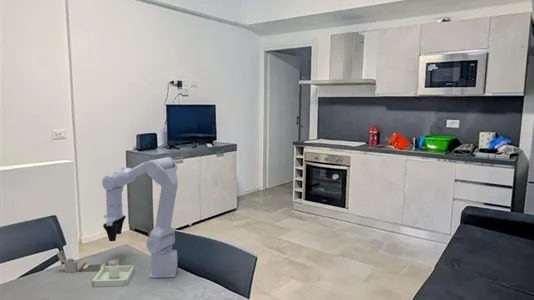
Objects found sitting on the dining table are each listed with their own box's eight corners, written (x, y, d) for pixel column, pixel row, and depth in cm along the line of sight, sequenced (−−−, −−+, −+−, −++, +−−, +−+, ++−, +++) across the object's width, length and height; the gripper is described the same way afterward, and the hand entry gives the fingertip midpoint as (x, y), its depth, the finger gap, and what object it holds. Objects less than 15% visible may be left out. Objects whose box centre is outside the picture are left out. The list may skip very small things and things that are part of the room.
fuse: (120, 275, 136) (120, 259, 135) (117, 280, 132) (116, 263, 132) (110, 275, 136) (110, 259, 135) (107, 280, 132) (106, 263, 131)
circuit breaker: (77, 271, 139) (77, 251, 138) (75, 273, 138) (74, 253, 137) (60, 270, 140) (59, 250, 139) (57, 272, 138) (56, 252, 137)
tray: (134, 271, 140) (134, 265, 140) (126, 286, 129) (126, 280, 129) (103, 272, 139) (102, 266, 139) (92, 287, 128) (91, 281, 127)
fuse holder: (109, 265, 145) (109, 262, 145) (105, 272, 139) (104, 269, 139) (84, 265, 144) (84, 262, 144) (78, 272, 138) (78, 269, 138)
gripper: (109, 199, 153) (110, 231, 155) (97, 209, 139) (98, 244, 140) (127, 199, 154) (127, 230, 156) (117, 209, 139) (118, 244, 141)
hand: (115, 237), depth 148 cm, fingers open, 7 cm apart
